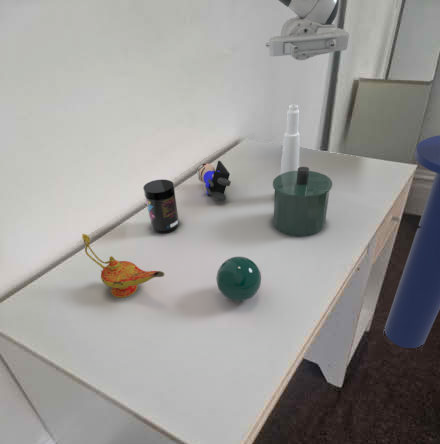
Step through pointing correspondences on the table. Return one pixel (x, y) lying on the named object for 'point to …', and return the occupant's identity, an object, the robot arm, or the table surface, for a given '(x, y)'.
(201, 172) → the character figurine
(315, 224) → the pot
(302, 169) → the pot lid
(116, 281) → the magic lamp
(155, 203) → the supplement container
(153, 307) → the table surface
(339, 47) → the robot arm
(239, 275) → the sphere
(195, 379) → the table surface
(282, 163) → the cosmetic bottle
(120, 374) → the table surface
